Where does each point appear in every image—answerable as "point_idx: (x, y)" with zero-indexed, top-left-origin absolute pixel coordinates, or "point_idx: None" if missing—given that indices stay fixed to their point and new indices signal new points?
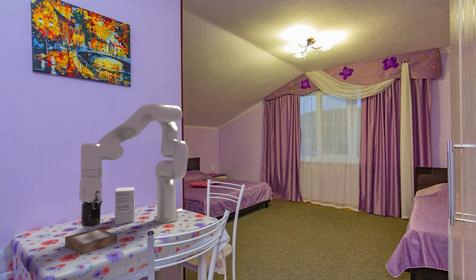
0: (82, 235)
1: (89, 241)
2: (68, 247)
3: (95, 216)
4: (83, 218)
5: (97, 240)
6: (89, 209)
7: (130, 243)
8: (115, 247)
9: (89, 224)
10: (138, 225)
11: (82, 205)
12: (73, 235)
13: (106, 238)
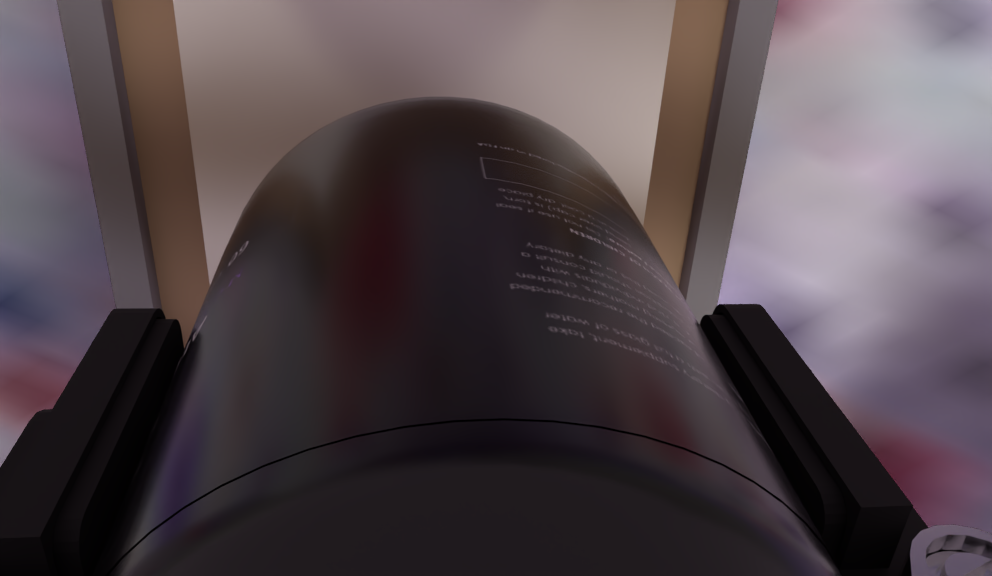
0: (615, 116)
1: (186, 42)
2: None
3: (41, 421)
4: (378, 175)
5: (88, 142)
6: (131, 491)
7: (7, 451)
8: (8, 280)
9: (246, 204)
10: None
11: (519, 473)
12: (736, 1)
13: (122, 287)
